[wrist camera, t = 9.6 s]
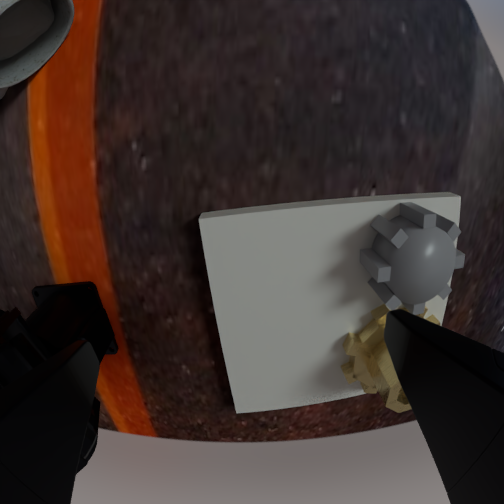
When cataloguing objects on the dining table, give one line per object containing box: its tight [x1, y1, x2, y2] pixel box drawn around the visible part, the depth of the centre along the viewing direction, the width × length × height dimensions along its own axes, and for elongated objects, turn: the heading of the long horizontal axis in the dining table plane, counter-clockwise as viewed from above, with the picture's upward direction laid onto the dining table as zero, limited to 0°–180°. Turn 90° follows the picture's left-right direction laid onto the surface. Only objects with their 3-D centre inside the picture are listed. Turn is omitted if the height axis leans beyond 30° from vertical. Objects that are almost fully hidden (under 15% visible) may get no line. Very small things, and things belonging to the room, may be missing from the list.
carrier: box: [199, 192, 465, 413], centre depth 20 cm, size 18×17×5 cm
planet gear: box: [341, 304, 441, 413], centre depth 20 cm, size 8×8×5 cm
